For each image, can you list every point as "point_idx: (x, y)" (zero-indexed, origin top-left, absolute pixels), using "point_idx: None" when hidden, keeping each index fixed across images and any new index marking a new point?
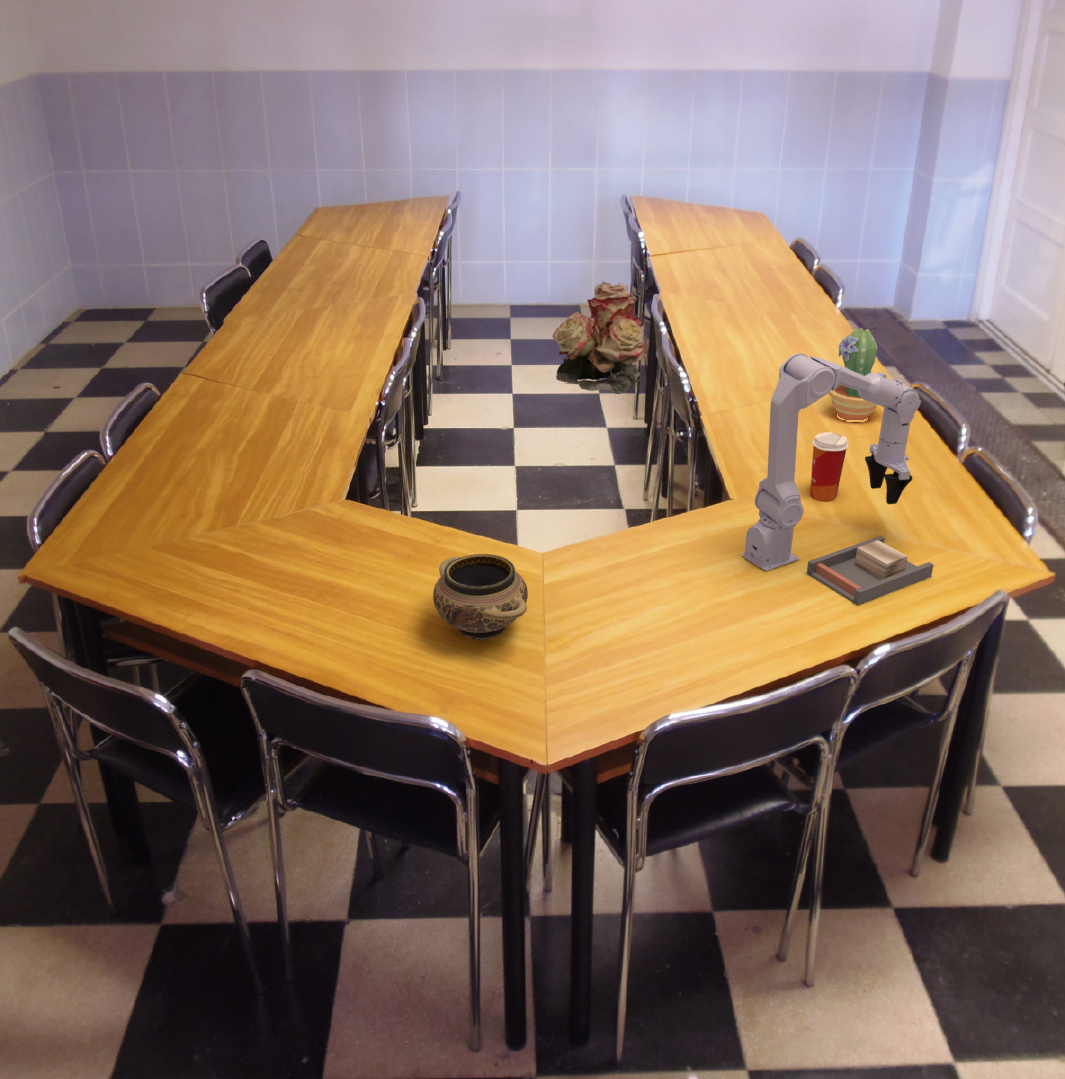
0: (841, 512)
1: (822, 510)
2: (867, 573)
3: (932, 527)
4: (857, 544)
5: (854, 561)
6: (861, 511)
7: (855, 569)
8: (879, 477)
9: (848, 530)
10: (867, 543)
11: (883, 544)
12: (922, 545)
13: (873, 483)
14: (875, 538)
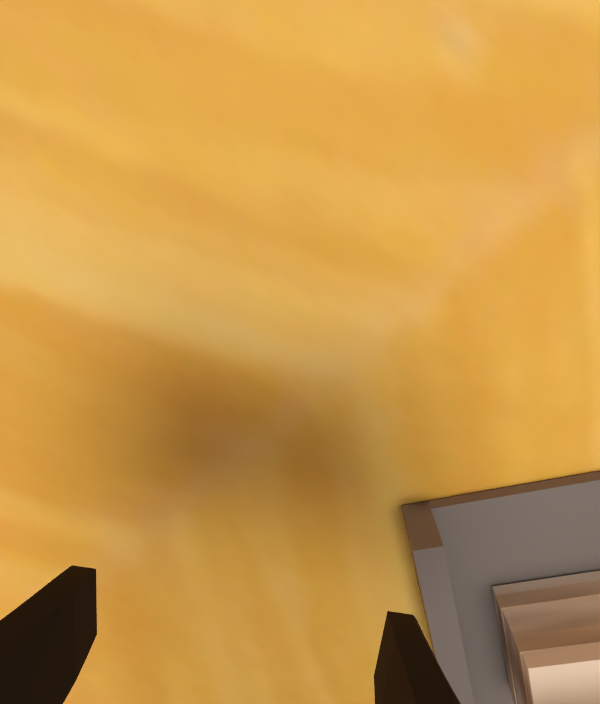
0: (37, 471)
1: (5, 535)
2: None
3: (303, 100)
4: None
5: (486, 673)
6: (41, 379)
7: None
8: (22, 695)
9: (211, 534)
10: (458, 647)
11: (582, 671)
12: (466, 294)
13: (66, 678)
14: (428, 588)
